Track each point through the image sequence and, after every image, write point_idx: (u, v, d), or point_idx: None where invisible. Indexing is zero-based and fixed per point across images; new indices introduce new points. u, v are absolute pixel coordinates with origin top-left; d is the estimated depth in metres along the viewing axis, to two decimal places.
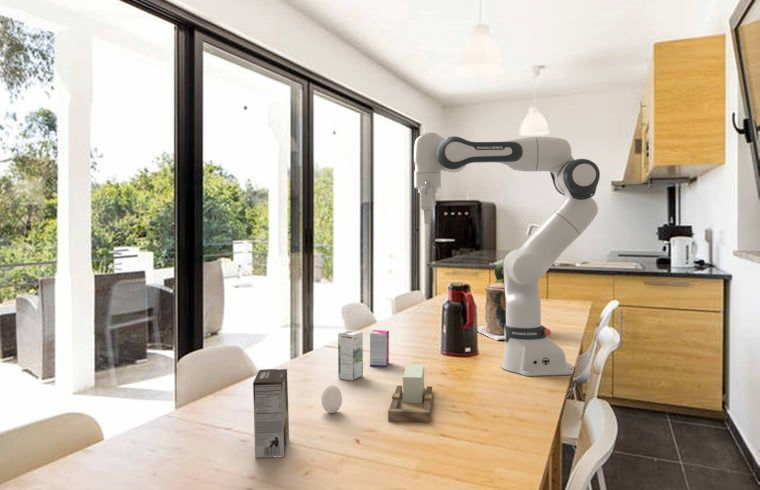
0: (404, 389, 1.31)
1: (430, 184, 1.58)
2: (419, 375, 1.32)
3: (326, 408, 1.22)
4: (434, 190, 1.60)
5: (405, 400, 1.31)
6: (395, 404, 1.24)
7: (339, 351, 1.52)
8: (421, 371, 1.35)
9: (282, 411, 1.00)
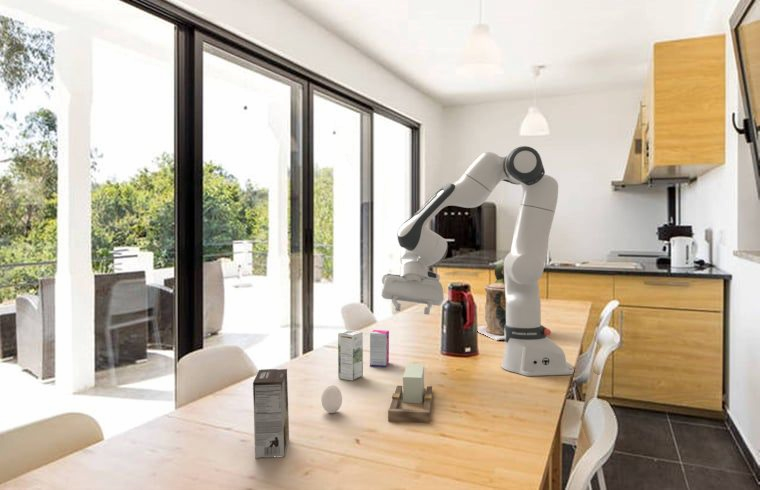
0: (404, 389, 1.31)
1: (400, 275, 1.62)
2: (419, 375, 1.32)
3: (326, 408, 1.22)
4: (408, 278, 1.60)
5: (405, 400, 1.31)
6: (395, 404, 1.24)
7: (339, 351, 1.52)
8: (421, 371, 1.35)
9: (282, 411, 1.00)
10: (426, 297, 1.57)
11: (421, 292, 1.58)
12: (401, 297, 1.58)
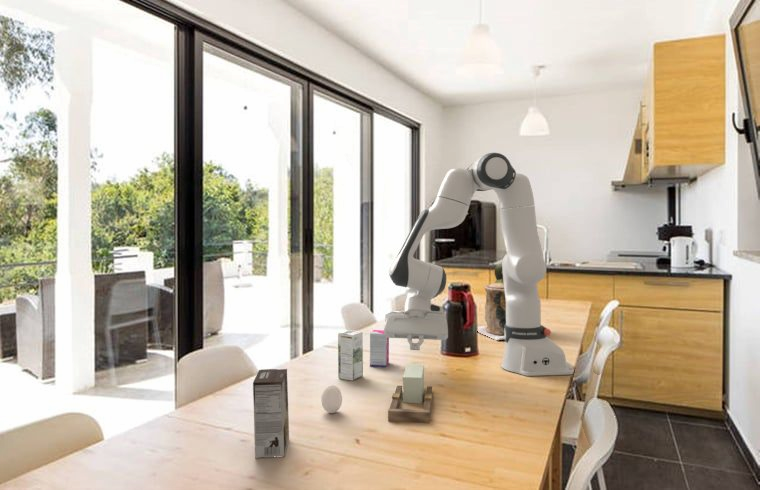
0: (404, 389, 1.31)
1: (404, 312, 1.58)
2: (419, 375, 1.32)
3: (326, 408, 1.22)
4: (410, 315, 1.56)
5: (405, 400, 1.31)
6: (395, 404, 1.24)
7: (339, 351, 1.52)
8: (421, 371, 1.35)
9: (282, 411, 1.00)
10: (429, 333, 1.51)
11: (424, 328, 1.53)
12: (404, 335, 1.54)
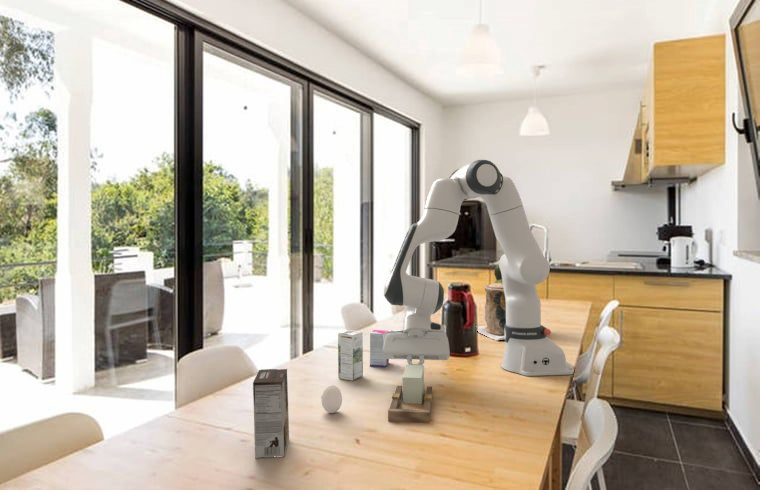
0: (404, 389, 1.30)
1: (402, 331, 1.51)
2: (419, 376, 1.31)
3: (326, 408, 1.22)
4: (409, 334, 1.48)
5: (405, 400, 1.30)
6: (395, 404, 1.24)
7: (339, 351, 1.52)
8: (421, 371, 1.35)
9: (282, 411, 1.00)
10: (429, 353, 1.44)
11: (424, 348, 1.45)
12: (404, 355, 1.47)
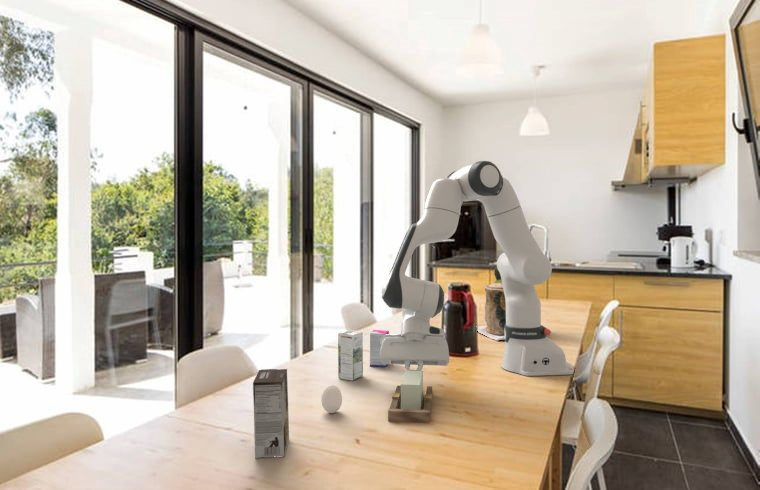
0: (402, 397, 1.24)
1: (400, 335, 1.45)
2: (418, 382, 1.25)
3: (326, 408, 1.22)
4: (407, 338, 1.42)
5: (403, 408, 1.24)
6: (395, 404, 1.24)
7: (339, 351, 1.52)
8: (420, 378, 1.29)
9: (282, 411, 1.00)
10: (428, 358, 1.38)
11: (422, 353, 1.39)
12: (402, 360, 1.41)
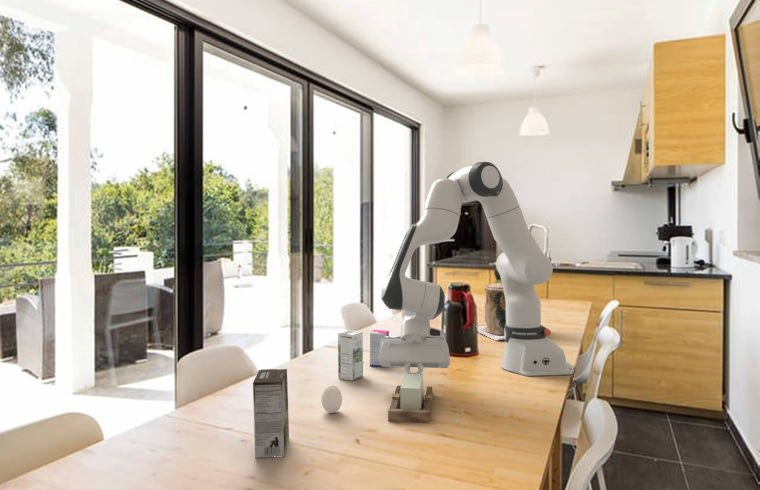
0: (401, 401, 1.22)
1: (400, 337, 1.43)
2: (418, 386, 1.23)
3: (326, 408, 1.22)
4: (407, 340, 1.40)
5: None
6: (395, 404, 1.24)
7: (339, 351, 1.52)
8: (420, 381, 1.27)
9: (282, 411, 1.00)
10: (428, 361, 1.36)
11: (423, 355, 1.37)
12: (401, 363, 1.39)
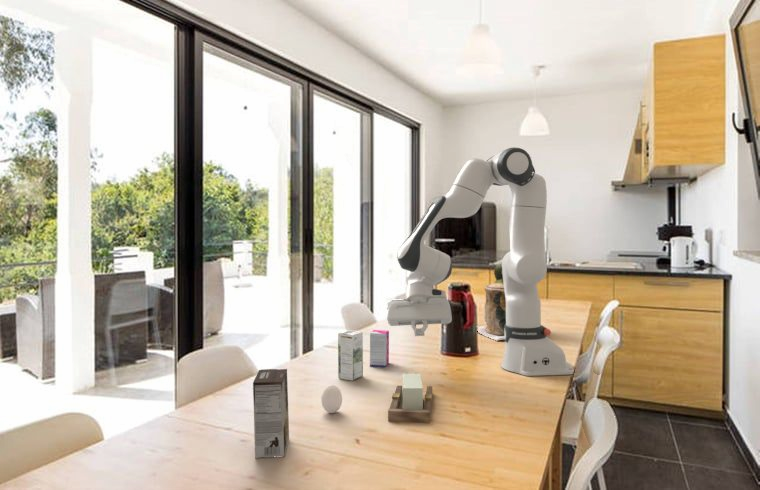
0: (404, 401, 1.22)
1: (405, 299, 1.57)
2: (420, 386, 1.23)
3: (326, 408, 1.22)
4: (412, 301, 1.54)
5: None
6: (395, 404, 1.24)
7: (339, 351, 1.52)
8: (420, 381, 1.27)
9: (282, 411, 1.00)
10: (432, 317, 1.50)
11: (427, 313, 1.51)
12: (408, 321, 1.53)
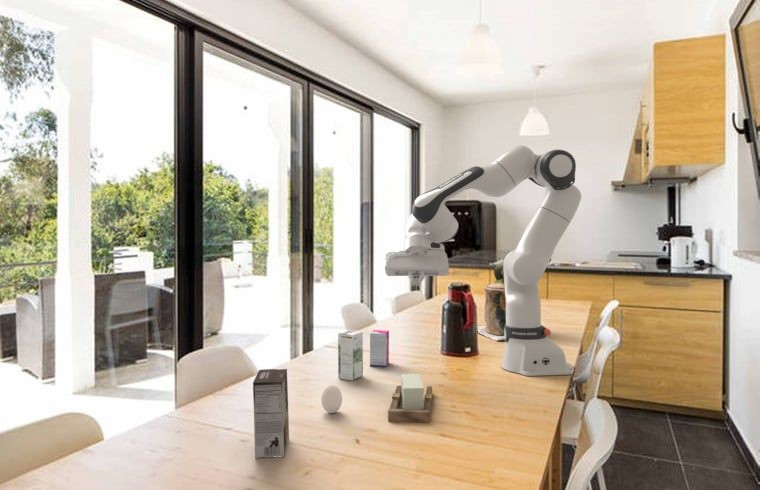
0: (405, 401, 1.22)
1: (404, 251, 1.58)
2: (420, 386, 1.23)
3: (326, 408, 1.22)
4: (410, 252, 1.56)
5: None
6: (395, 404, 1.24)
7: (339, 351, 1.52)
8: (420, 381, 1.27)
9: (282, 411, 1.00)
10: (430, 268, 1.51)
11: (424, 264, 1.52)
12: (405, 272, 1.54)
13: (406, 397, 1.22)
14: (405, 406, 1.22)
